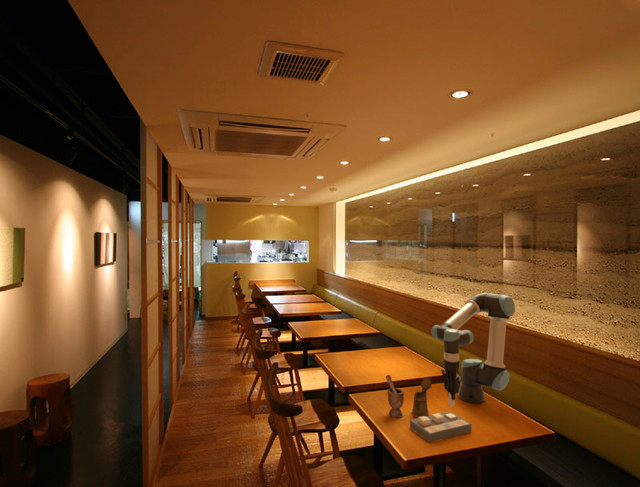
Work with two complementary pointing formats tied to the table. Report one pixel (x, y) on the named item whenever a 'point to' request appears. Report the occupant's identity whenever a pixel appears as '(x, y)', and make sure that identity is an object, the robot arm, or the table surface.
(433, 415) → the button middle
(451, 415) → the button
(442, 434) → the button panel
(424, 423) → the button
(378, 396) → the table surface
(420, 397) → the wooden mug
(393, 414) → the mortar and pestle
